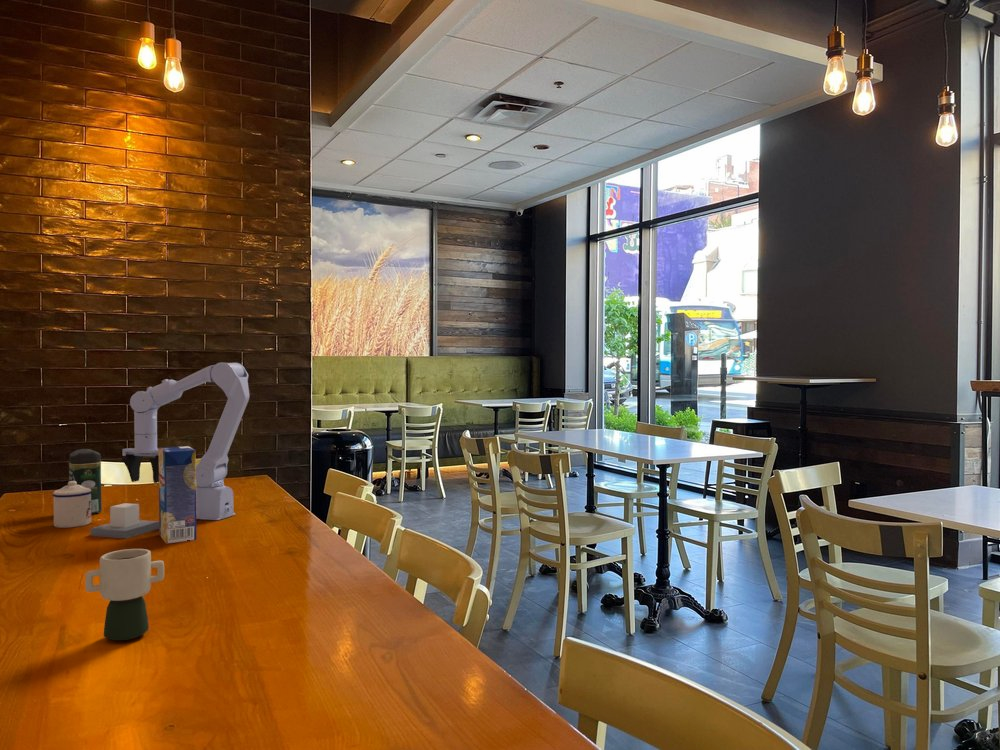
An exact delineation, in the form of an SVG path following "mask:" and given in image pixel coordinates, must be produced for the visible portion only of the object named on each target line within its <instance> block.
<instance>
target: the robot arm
mask: <svg viewBox="0 0 1000 750" xmlns="http://www.w3.org/2000/svg"><path fill="white" fill-rule="evenodd" d="M248 381H249V373H248V372H247V370H246V368H245V367H244V365H242V364H241V363H239V362H225V361H224V362H222V361H221V362H217V363H216V364H213V365H209V366H208V365H207V366H206V367H203V368H202V369H200V370H198V371H195V372H193V373H192V374H190V375H188V376H185V377H184V378H182V379H180V380H174V379H168V378H165V379H163V380H161V383H160V384H157V385H155V386H149V387H146V391H143V390H141V391H140V390H138V391H136V392H135V393H134V394H132V396H131V397H130V399H129V400H130V401H129V406H130V407H131V409H132V410H133V415H134V417H133V419H134V422H133V423H134V427H133V428H134V430H133V431H134V448H132V447H129V448H122V449H121V450H122V456H123V457H122V459H121V460H122V462H123V464H124V465H125V467H126V469H127V471H128V474H129V477H130V480H131V481H130V482H132V483H135V482H139V481H140V474H141V473H140V471H141V470H140V468H141V466H142V465H141V463H142V460H143V457H150V458H149V459H148V461H149V462H150V465H151V470H152V482H153V484H157V483H158V484H159V447H158V410H159V409H160V407H162V406H165V405H167V404H169V403H171V402H174V401H176V400H179V399H181V397H182V395H183V394H184V392H185V391H187V390H190V389H192V388H195V387H198V386H201V385H203V384H205V383H215V384H216V385H217V386H218V387H219V388H220V389H221V390H222V391H223V392H224V395H225V397H227V400H226V403H225V406H224V409H223V411H222V413H221V416H220V419H219V421H218V424H217V426H216V429H215V431H214V433H213V436H212V440H211V442H210V444H209V446H208V449H207V451H206V452H205V453H204V455H202V457H201V458H200V461H199V463H198V464H196V520H206V521H220V520H223V519H227V518H229V517H233V516H235V515H236V513H235V511H234V508H235V507H234V490H233V489H232V488H231V487H229V486H226V485H225V483H224V480H225V478H226V476H227V475H228V463H229V457H228V454H229V451H230V449H231V446H232V443H233V441H234V438H235V436H236V433H237V431H238V429H239V426H240V423H241V420H242V418H243V415H244V413H245V410H246V407H247V406H248V403H249V400H250V388H249V382H248Z"/></svg>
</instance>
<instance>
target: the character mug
mask: <svg viewBox="0 0 1000 750" xmlns="http://www.w3.org/2000/svg"><path fill="white" fill-rule="evenodd" d="M151 553H152V552H151V550H149V549H146V548H145V549H144V548H130V549H129V548H128V549H119V550H115V551H110V552H107V553H105V554H103V555H101V556H100V557H99V569H92V570H89V571H86V573H85V590H86V592H87V593H95V592H99V594H100V596H101V597H102V599H104V600H107V601H108V605H107V607H106V613H105V620H104V627H103V637H104V638H106V639H108V640H112V641H127V640H131V639H136V638H138V637H140V636H142V635H144V634H145V633H147V632H148V631H149V627H150V626H149V625H150V624H149V616H148V611H147V606H146V600H145V598H144V597H143V596H145V595H148V593H149V592H150V591H151V587H152V583H156V582H160V581H163V580H164V578H165V563H164V561H163V560H155V561H152V554H151ZM153 568H157V572H156V573H157V575H152V569H153ZM97 576H98V577H99V584H94V577H97Z"/></svg>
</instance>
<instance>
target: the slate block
mask: <svg viewBox="0 0 1000 750" xmlns="http://www.w3.org/2000/svg"><path fill="white" fill-rule="evenodd" d="M156 530H159V521H156V520H145V519H144V520H142V519H139V524H135V525H132V526H128V527H113V526H111V524H110V522H109V523H106V524H100V525H98V526H94V527H91V528H90V536H91V537H103V538H114V539H129V538H132V537H135V536H139V535H144V534H146V533H150V532H152V531H156Z"/></svg>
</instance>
